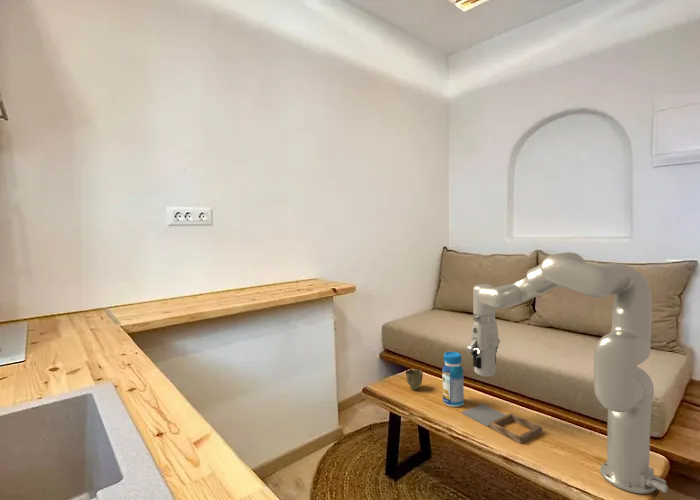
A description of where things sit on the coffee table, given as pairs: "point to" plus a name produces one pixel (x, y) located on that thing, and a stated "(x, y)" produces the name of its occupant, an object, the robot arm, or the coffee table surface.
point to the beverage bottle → (453, 380)
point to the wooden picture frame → (520, 439)
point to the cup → (414, 378)
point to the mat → (483, 414)
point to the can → (486, 362)
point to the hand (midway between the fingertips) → (484, 364)
